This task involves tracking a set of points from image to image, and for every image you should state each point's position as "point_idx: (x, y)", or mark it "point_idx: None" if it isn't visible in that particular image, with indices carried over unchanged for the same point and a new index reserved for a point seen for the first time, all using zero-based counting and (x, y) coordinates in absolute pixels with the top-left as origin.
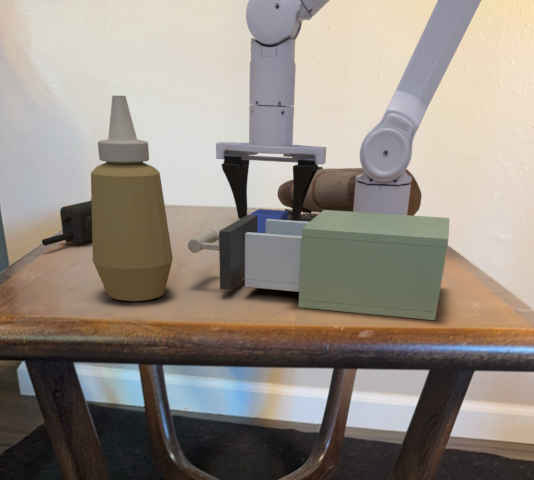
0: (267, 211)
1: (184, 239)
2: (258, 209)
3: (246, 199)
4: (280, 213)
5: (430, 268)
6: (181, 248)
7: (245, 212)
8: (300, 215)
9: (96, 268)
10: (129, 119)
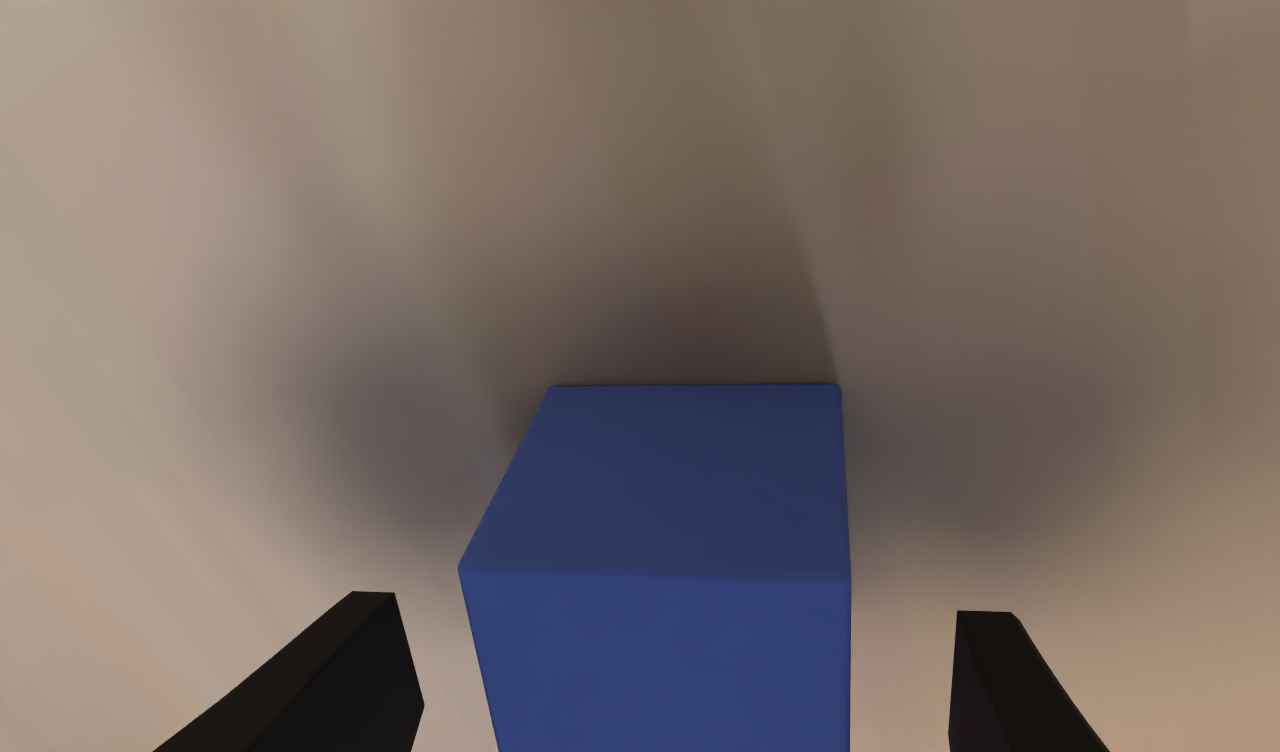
0: (620, 679)
1: (15, 492)
2: (472, 596)
3: (303, 708)
4: (801, 747)
5: None
6: None
7: (385, 663)
8: (1034, 648)
9: None
10: None
